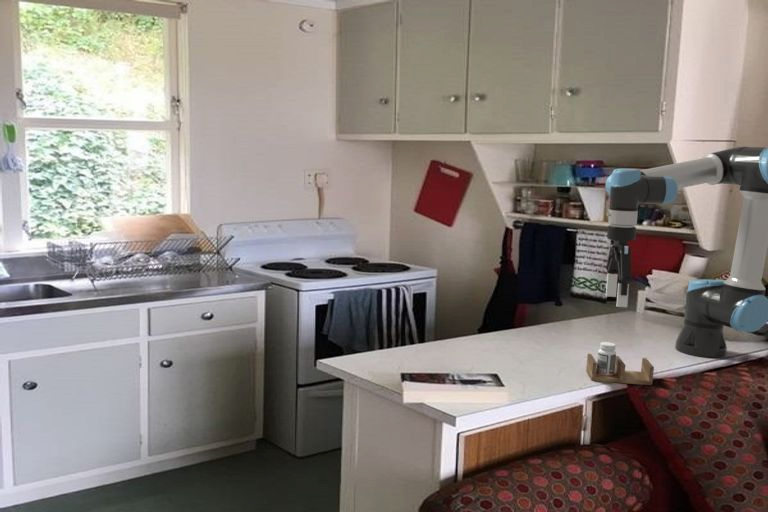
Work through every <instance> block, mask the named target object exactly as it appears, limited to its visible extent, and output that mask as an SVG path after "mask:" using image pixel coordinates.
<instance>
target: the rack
mask: <svg viewBox="0 0 768 512" xmlns="http://www.w3.org/2000/svg"><path fill="white" fill-rule="evenodd" d="M585 371H586V373H587V375H588V377H589V379H590V381H592V382H593V381H594V382H603V383H619V384H628V385H629V384H631V385H645V386H653V382H654V381H653V380H654V371H655V367H654V365H653V364H652V363H651V362H650V361H649V360H648V359H647V358H646V357H642V358H641V368H640V371H635V370H626V363H624V361H623V359H622V358H621V357H620V356H619V355H616V360H615V370H614V374H613V375H611V376H607V375H601V374H598V373H597V361H596V359H595V357H594V356H593V354H591V353H587V357H586V369H585Z"/></svg>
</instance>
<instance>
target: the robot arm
mask: <svg viewBox="0 0 768 512" xmlns="http://www.w3.org/2000/svg"><path fill="white" fill-rule="evenodd" d="M702 184H703V185H704V184H708V185H710V186H714V185H719V184H720V185H723V184H727V185H735V186H739V193H740V194H741V196H742V197H743V201H742V205H741V212H740V217H739V222H738V223H739V224H738V227H737V228H738V229H737V235H736V241H735V246H734V252H733V257H732V258H733V259H732V264H731V269H730V274H729V277H728V278H727V279H726V280H725V279H706V278H705V279H702V278H701V279H699V278H698V279H692V280H690V281H689V282H688V286H687V291H686V298H685V308H684V319H683V325H682V327H681V330H680V332H679V334H678V336H677V338H676V339H675V347H674V348H675V350H676V351H679V352H681V353H684V354H688V355H690V356H696V357H705V358H723V357H725V355H726V356H727V351H728V345H727V341H726V337H725V333H724V327H728V328H731V329H733V330H735V331H739V332H744V333H754V332H757V331H759V330H760V329H761V328H763V326H765V324H766V323H767V322H768V298H767V297H766V296H765V294H766V287H765V286H764V284H763V283H762V280H763V279H762V278H763V274H764V273H763V272H764V268H765V261H766V257H767V251H768V147H761V146H760V147H759V146H756V147H755V146H754V147H753V146H752V147H751V146H738V147H732V148H728V149H723V150H719V151H715V152H710V153H706V154H704V156H702V158H696V159H693V160H688V161H687V160H686V161H682V162H677V163H672V164H667V165H662V166H661V165H660V166H656V167H650V168H646V169H641V170H640V169H637V168H615V169H613V171H612V173H611V174H610V175H609V176H608V177H607V178H606V182H605V191H606V192H607V195H608V196H609V207H608V212H606V217H608V221H607V223H608V224H609V225H608V226H607V230H606V231H607V232H606V234H607V235H606V238H607V240H610V241H609V242H610V244H609V250H608V255H607V261H606V266H605V269H606V272H607V275H606V276H607V277H606V278H607V279H606V286H605V287H606V288H605V289H606V290H605V296H606V297H613V298H616V304H615V305H616V307H617V308H628V303H629V291H630V290H629V288H630V283H633V279H632V277H633V276H632V246H630V245H629V246H628V244H629V243H628V242H634V241H635V240H636V236H637V235H636V234H637V228H636V225H637V224H638V214H639V212H638V211H639V205H642V204H647V205H649V204H656V205H657V204H658V205H659V204H660V205H663V204H664V205H665V204H671V203H672V202H674V201H675V200H676V199H677V195H678V190H679V189H684V188H688V187H689V188H690V187H693V186H694V187H695V186H698V185H702Z"/></svg>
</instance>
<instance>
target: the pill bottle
mask: <svg viewBox="0 0 768 512" xmlns="http://www.w3.org/2000/svg"><path fill="white" fill-rule="evenodd" d="M616 356H617V352H616V343H612V342H609V341H602V342H600V344H599V349H598V351H597V361H596V362H597V373H598V374H601V375H607V376H611V375H613V374H614V370H615V360H616Z"/></svg>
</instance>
